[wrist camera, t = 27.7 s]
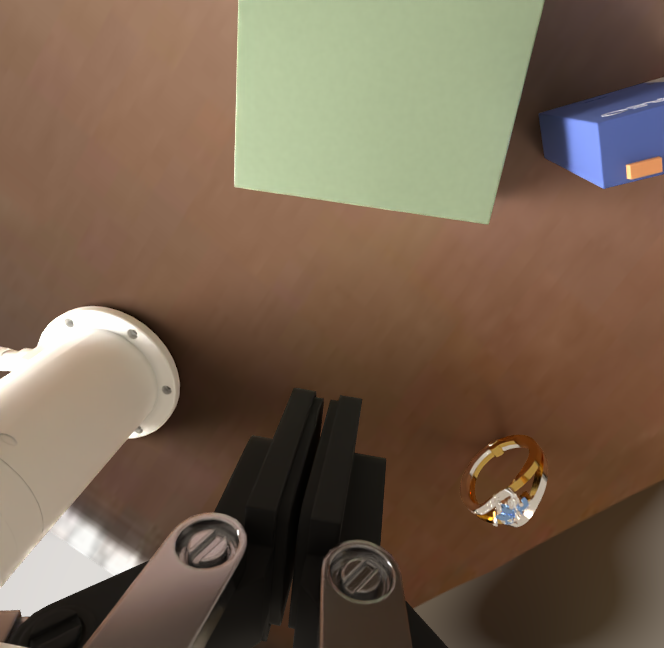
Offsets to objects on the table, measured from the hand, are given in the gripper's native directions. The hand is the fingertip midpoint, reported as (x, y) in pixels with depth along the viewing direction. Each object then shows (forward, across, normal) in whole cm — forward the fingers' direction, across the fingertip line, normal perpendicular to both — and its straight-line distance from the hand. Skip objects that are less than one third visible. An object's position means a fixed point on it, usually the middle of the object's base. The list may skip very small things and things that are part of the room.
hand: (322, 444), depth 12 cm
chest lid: (+18, +1, -10) cm, 21 cm away
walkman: (+25, -13, -8) cm, 29 cm away
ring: (+26, -12, +17) cm, 33 cm away
